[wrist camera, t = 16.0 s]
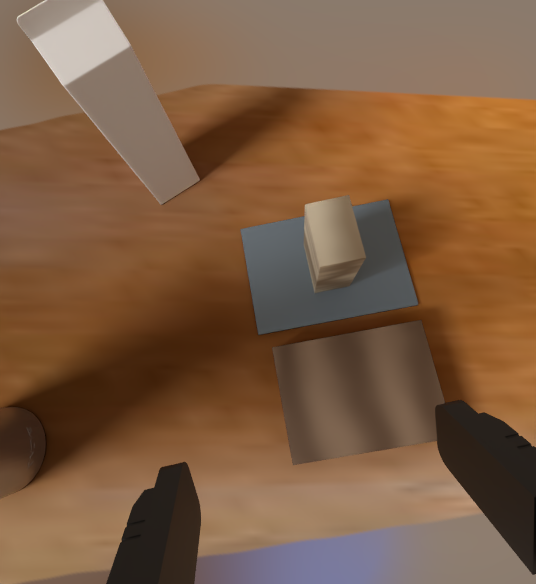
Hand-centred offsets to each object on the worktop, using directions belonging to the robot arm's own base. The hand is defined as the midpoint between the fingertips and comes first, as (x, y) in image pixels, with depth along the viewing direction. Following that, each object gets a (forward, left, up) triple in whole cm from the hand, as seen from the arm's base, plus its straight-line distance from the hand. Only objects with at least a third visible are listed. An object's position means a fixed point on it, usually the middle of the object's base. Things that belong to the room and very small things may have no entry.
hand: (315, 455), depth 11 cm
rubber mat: (+5, +14, -27) cm, 31 cm away
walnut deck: (+5, 0, -27) cm, 27 cm away
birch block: (+5, +14, -27) cm, 30 cm away
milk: (-12, +30, -27) cm, 42 cm away
